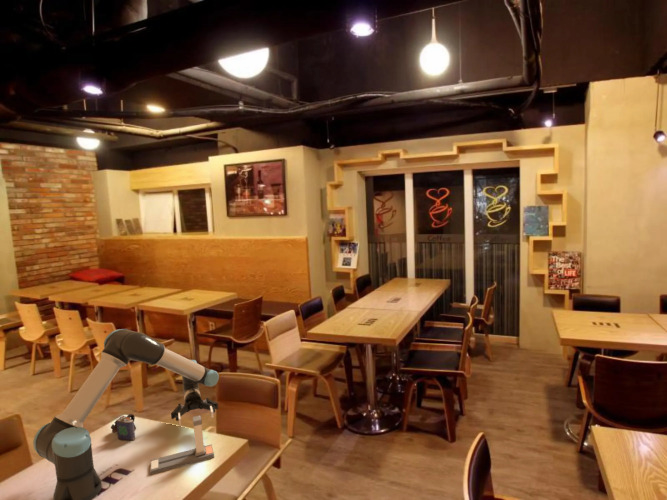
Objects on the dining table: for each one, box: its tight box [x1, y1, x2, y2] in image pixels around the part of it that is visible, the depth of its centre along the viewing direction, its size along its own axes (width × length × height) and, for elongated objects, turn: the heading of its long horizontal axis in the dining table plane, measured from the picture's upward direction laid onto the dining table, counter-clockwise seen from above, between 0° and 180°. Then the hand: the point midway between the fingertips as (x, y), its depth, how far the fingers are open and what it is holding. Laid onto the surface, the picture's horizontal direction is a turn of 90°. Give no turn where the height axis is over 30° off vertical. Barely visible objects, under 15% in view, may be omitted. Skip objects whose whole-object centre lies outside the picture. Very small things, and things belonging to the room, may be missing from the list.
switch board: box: [150, 443, 215, 475], centre depth 171 cm, size 24×8×2 cm, turn 113°
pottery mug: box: [110, 413, 137, 434], centre depth 199 cm, size 12×10×8 cm
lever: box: [192, 415, 206, 456], centre depth 173 cm, size 4×6×14 cm
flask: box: [115, 415, 136, 442], centre depth 190 cm, size 9×3×11 cm, turn 70°
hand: (196, 418), depth 182 cm, fingers open, 13 cm apart
